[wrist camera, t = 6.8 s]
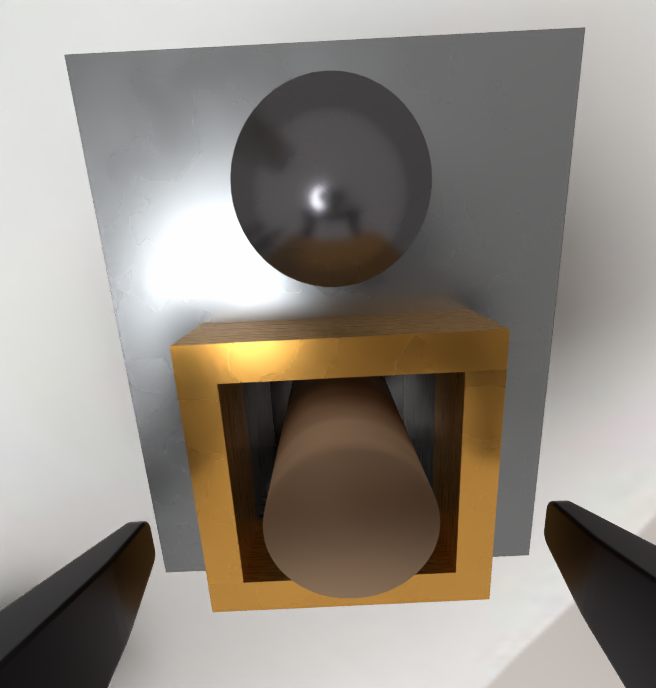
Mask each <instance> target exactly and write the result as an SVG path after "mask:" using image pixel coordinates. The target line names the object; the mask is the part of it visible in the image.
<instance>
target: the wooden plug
mask: <svg viewBox="0 0 656 688" xmlns="http://www.w3.org/2000/svg"><path fill="white" fill-rule="evenodd" d="M439 531H440V513H439V508H438V504H437V501H436V498H435V496H434V493H433V491H432V489H431V486H430V484H429V482H428V479H427V477H426V475H425V472H424V470H423V468H422V465H421V463H420V461H419V458H418V456H417V454H416V451H415V449H414V447H413V444H412V442H411V440H410V437H409V435H408V433H407V430H406V428H405V426H404V423H403V421H402V419H401V416H400V414H399V412H398V409H397V407H396V405H395V403H394V400H393V398H392V396H391V393H390V391H389V389H388V386H387V384H386V382H385V379H384V377H383V376H366V377H346V378H326V379H306V380H293V382H292V387H291V391H290V396H289V401H288V405H287V410H286V414H285V419H284V424H283V428H282V433H281V437H280V442H279V446H278V451H277V456H276V460H275V465H274V469H273V474H272V478H271V483H270V488H269V492H268V497H267V501H266V506H265V510H264V517H263V535H264V540H265V544H266V547H267V550H268V552H269V554H270V556H271V558H272V560H273V561H274V562H275V564H276V565H277V567H278V568H279V569H280V570H281V571H282V572H283V573H284V574H285V575H286V576H287V577H288V578H290V579H291V580H292V581H293V582H295V583H297V584H298V585H300V586H301V587H303V588H305V589H308V590H310V591H312V592H315V593H318V594H321V595H325V596H329V597H335V598H364V597H369V596H374V595H378V594H381V593H384V592H387V591H389V590H392V589H394V588H396V587H398V586H400V585H401V584H403V583H405V582H406V581H407V580H409V579H410V578H411V577H413V576H414V575H415V574H416V573H417V572H418V571H419V570H420V569H421V568H422V567H423V566H424V565H425V563H426V562H427V561H428V559H429V558H430V556H431V554H432V553H433V551H434V548H435V546H436V544H437V540H438V536H439Z"/></svg>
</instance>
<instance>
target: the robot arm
mask: <svg viewBox="0 0 656 688" xmlns="http://www.w3.org/2000/svg"><path fill="white" fill-rule="evenodd" d="M544 536H545V540H546V543H547V545H548V547H549V550H550V552H551V554H552V556H553V558H554V560H555V562H556V564H557V566H558V568H559V570H560V572H561V574H562V576H563V578H564V580H565V582H566V584H567V586H568V588H569V590H570V592H571V594H572V596H573V598H574V601H575V603H576V604H577V606H578V608H579V610H580V612H581V614H582V616H583V617H584V619H585V621H586V622H587V624H588V626H589V628H590V629H591V631H592V633H593V634H594V636H595V638H596V639H597V641H598V643H599V644H600V646H601V648H602V649H603V651H604V653H605V654H606V656H607V657H608V659H609V661H610V663H611V664H612V666H613V668H614V669H615V671H616V672H617V674H618V676H619V677H620V679H621V681H622V682H623V684H624V686H625V687H626V688H656V545H654V544H652V543H650V542H648V541H646V540H644V539H642V538H640V537H638V536H636V535H634V534H632V533H630V532H629V531H627V530H625V529H623V528H621V527H619V526H617V525H615V524H613V523H611V522H609V521H607V520H605V519H603V518H601V517H599V516H597V515H596V514H594V513H592V512H590V511H588V510H586V509H584V508H582V507H580V506H578V505H576V504H574V503H572V502H570V501H551V502H549V504H548V505H547V511H546V520H545V528H544ZM154 560H155V548H154V543H153V538H152V533H151V528H150V525H149V523H148V522H146V521H140V522H129V523H127V524H125V525H124V526H122V527H121V528H120V529H118V530H117V531H115V532H114V533H112V534H111V535H109V536H108V537H107V538H105V539H104V540H102V541H101V542H99V543H98V544H96V545H95V546H93V547H92V548H91V549H89V550H88V551H86V552H85V553H83V554H82V555H80V556H79V557H78V558H76V559H75V560H73V561H72V562H70V563H69V564H67V565H66V566H65V567H63V568H62V569H60V570H59V571H57V572H56V573H54V574H53V575H52V576H50V577H49V578H47V579H46V580H44V581H43V582H41V583H40V584H38V585H37V586H36V587H34V588H33V589H31V590H30V591H28V592H27V593H25V594H24V595H23V596H21V597H20V598H18V599H17V600H15V601H14V602H12V603H11V604H10V605H8V606H7V607H5V608H4V609H2V610H1V611H0V688H108V685H109V683H110V681H111V678H112V676H113V674H114V672H115V669H116V667H117V665H118V662H119V660H120V658H121V655H122V653H123V651H124V648H125V646H126V644H127V641H128V639H129V636H130V633H131V631H132V628H133V625H134V622H135V619H136V616H137V613H138V610H139V607H140V604H141V601H142V598H143V595H144V592H145V588H146V585H147V582H148V579H149V576H150V573H151V570H152V567H153V564H154Z"/></svg>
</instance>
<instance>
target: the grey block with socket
mask: <svg viewBox="0 0 656 688" xmlns="http://www.w3.org/2000/svg"><path fill="white" fill-rule="evenodd" d="M584 34H585V28H566V29H547V30H528V31H508V32H489V33H470V34H451V35H432V36H413V37H394V38H375V39H356V40H337V41H318V42H298V43H279V44H260V45H241V46H222V47H203V48H184V49H165V50H146V51H127V52H108V53H88V54H69V55H65V60H66V65H67V70H68V75H69V80H70V86H71V91H72V96H73V101H74V106H75V111H76V116H77V121H78V126H79V131H80V137H81V142H82V147H83V152H84V157H85V162H86V167H87V172H88V177H89V182H90V187H91V193H92V198H93V203H94V208H95V213H96V218H97V223H98V228H99V233H100V238H101V243H102V249H103V254H104V259H105V264H106V269H107V274H108V279H109V284H110V289H111V294H112V300H113V305H114V310H115V315H116V320H117V325H118V330H119V335H120V340H121V345H122V350H123V356H124V361H125V366H126V371H127V376H128V381H129V386H130V391H131V396H132V401H133V406H134V412H135V417H136V422H137V427H138V432H139V437H140V442H141V447H142V452H143V457H144V462H145V468H146V473H147V478H148V483H149V488H150V493H151V498H152V503H153V508H154V513H155V519H156V524H157V529H158V534H159V539H160V544H161V549H162V554H163V559H164V564H165V569H166V572H183V571H204V570H206V574H207V580H208V586H209V592H210V599H211V605H212V611H213V612H226V611H247V610H268V609H289V608H311V607H332V606H353V605H374V604H396V603H417V602H438V601H459V600H480V599H489V596H490V583H491V570H492V557H498V556H519V555H529V548H530V539H531V530H532V520H533V511H534V501H535V492H536V483H537V473H538V464H539V455H540V445H541V436H542V427H543V417H544V408H545V399H546V389H547V380H548V371H549V361H550V352H551V342H552V333H553V324H554V314H555V305H556V296H557V286H558V277H559V268H560V258H561V249H562V240H563V230H564V221H565V212H566V202H567V193H568V183H569V174H570V165H571V155H572V146H573V137H574V127H575V118H576V109H577V99H578V90H579V81H580V71H581V62H582V52H583V43H584ZM387 375H404V411H403V423H404V426H405V428H406V430H407V433H408V435H409V437H410V440H411V442H412V444H413V447H414V449H415V451H416V454H417V456H418V458H419V461H420V463H421V465H422V468H423V470H424V472H425V475H426V477H427V479H428V482H429V484H430V486H431V489H432V491H433V493H434V496H435V498H436V501H437V504H438V508H439V513H440V531H439V536H438V540H437V544H436V546H435V548H434V551H433V553H432V554H431V556H430V558H429V559H428V561H427V562H426V563H425V565H424V566H423V567H422V568H421V569H420V570H419V571H418V572H417V573H416V574H415V575H414V576H413V577H411V578H410V579H409V580H407V581H406V582H405V583H403V584H401V585H400V586H398V587H396V588H394V589H392V590H389V591H387V592H384V593H381V594H378V595H374V596H369V597H364V598H335V597H329V596H325V595H321V594H318V593H315V592H312V591H310V590H308V589H305V588H303V587H301V586H300V585H298V584H297V583H295V582H293V581H292V580H291V579H290V578H288V577H287V576H286V575H285V574H284V573H283V572H282V571H281V570H280V569H279V568H278V567H277V565H276V564H275V562H274V561H273V560H272V558H271V556H270V554H269V552H268V550H267V547H266V544H265V540H264V535H263V517H264V510H265V506H266V501H267V497H268V492H269V488H270V483H271V478H272V474H273V469H274V465H275V460H276V456H277V451H278V446H276V444H275V434H274V423H273V412H272V402H271V391H270V381H285V380H306V379H326V378H346V377H366V376H387Z"/></svg>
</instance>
